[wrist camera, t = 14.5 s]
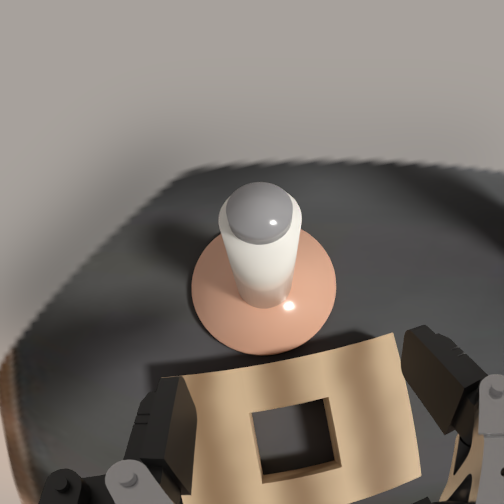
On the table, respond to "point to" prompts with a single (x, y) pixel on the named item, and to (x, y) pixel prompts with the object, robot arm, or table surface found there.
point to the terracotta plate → (271, 319)
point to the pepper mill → (261, 241)
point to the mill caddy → (338, 417)
